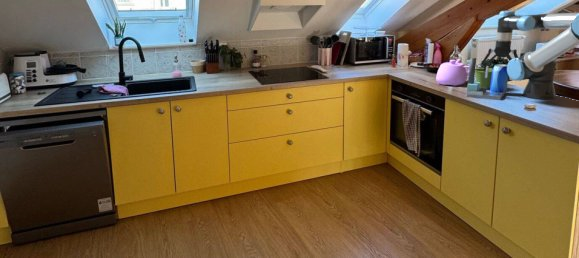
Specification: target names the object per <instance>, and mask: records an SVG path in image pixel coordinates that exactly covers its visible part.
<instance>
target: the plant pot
mask: <svg viewBox="0 0 579 258" xmlns="http://www.w3.org/2000/svg"><path fill="white" fill-rule="evenodd" d="M492 69H493V68H492V67H491V68H490V67H488V76H487V78H485V73H486V72H484V67H478V68H477V67H476V68H475V82H480V88H487V90H490V87H491V77H492Z"/></svg>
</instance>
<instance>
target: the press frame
mask: <svg viewBox="0 0 579 258" xmlns="http://www.w3.org/2000/svg"><path fill="white" fill-rule="evenodd" d="M487 90H488V89H487V88H479V91H470V90H468V91H467V90H466V97H467V98H474V99H475V98H476V99H477V98H478V99H484V100H485V99H488V100H495V101H501V100H502V98H503V97H504V96H503V95H505V94H504V93H497V92H490V91H487Z"/></svg>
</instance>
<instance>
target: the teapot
mask: <svg viewBox="0 0 579 258" xmlns="http://www.w3.org/2000/svg"><path fill="white" fill-rule="evenodd" d="M460 61H461V59H460V58H458V59H456V60H455V59H451V60H449V62H448V61H447V62H443V63H441V64H440V66H439V68H438V70H437V73H436V78H435V80H436V82H437V84H440V85H441V86H445V85H447V86H449V85H450V86H453V87H457V86H462V85H464V84H465V83H466V81H468V80H467V79H468V77H469V67H470V65H465V64H464V63H462V62H460ZM467 69H468V71H467Z"/></svg>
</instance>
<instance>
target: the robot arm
mask: <svg viewBox="0 0 579 258" xmlns="http://www.w3.org/2000/svg"><path fill="white" fill-rule="evenodd" d="M557 29H558V30H564V31H563V32H561V33H560V34H558V35H557V36H555V37H554V38H552V39H551V40H549V41H548V42H546V43H544V44H543V45H542V46H540V47H539V48H536V49H535V50H534V51H528V52H526V53H524V54H523V55H521V56H520V57H519V56H518V54H517V52H518V50H517V49H511V47H512V46H511V45H512V41H511V40H512V38H513V31H514V30H515V31H522V32H528V31H532V30H557ZM495 37H496V38H495V46H494V47H495V48H488V53H486V55H485V57H484V58H483V60H482V61H481V62H480V65H481V66H483V68H484V72H486V73H485V78H487V76H488V68H490V67H489V64H491V62H492V61H494V60H495V58H506V59H507V60H509V61H508V63H507V64H506V65H507V73H508V78H510V79H511V81H516V82H517V81H518V82H520V81H524V80H525V81H526V80H528V81H527V83H526V86H525V88H524V89H523V90H522V91H523V93H522V96H523V97H524V98H529V99H534V100H535V99H536V100H552V99H555V97H556V91H555V86H554V78H555V72H556V65H557V58H558V57H562V55H564V54H565V53H567V52H568V51H570V50H572V49H574V48H575V47H577V46H578V45H579V12H570V13H569V12H567V13H566V12H565V13H539V14H526V15H524V14H523V15H519V14H518V15H516V12H515V11H514V10H502V11H500V12H499V15H498V21H497V31H496V36H495ZM493 52H494V55H493V56H492V57H491V58H490V57H489V56H490V55H491V54H493ZM510 53H511V54H513V56H514V58H512V57H511V55H510ZM488 58H490V59H489V60H488ZM487 60H488V61H487Z"/></svg>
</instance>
